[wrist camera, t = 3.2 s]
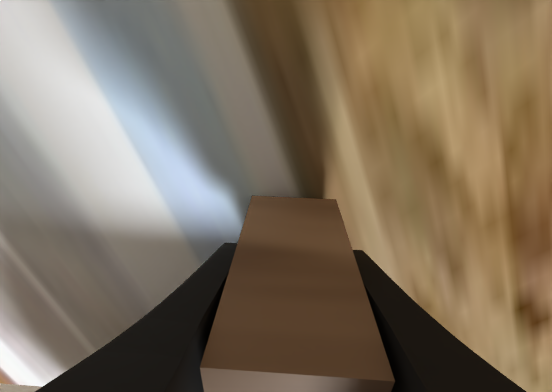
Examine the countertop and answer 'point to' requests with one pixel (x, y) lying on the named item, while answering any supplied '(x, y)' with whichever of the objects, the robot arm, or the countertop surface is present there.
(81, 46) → the countertop surface
